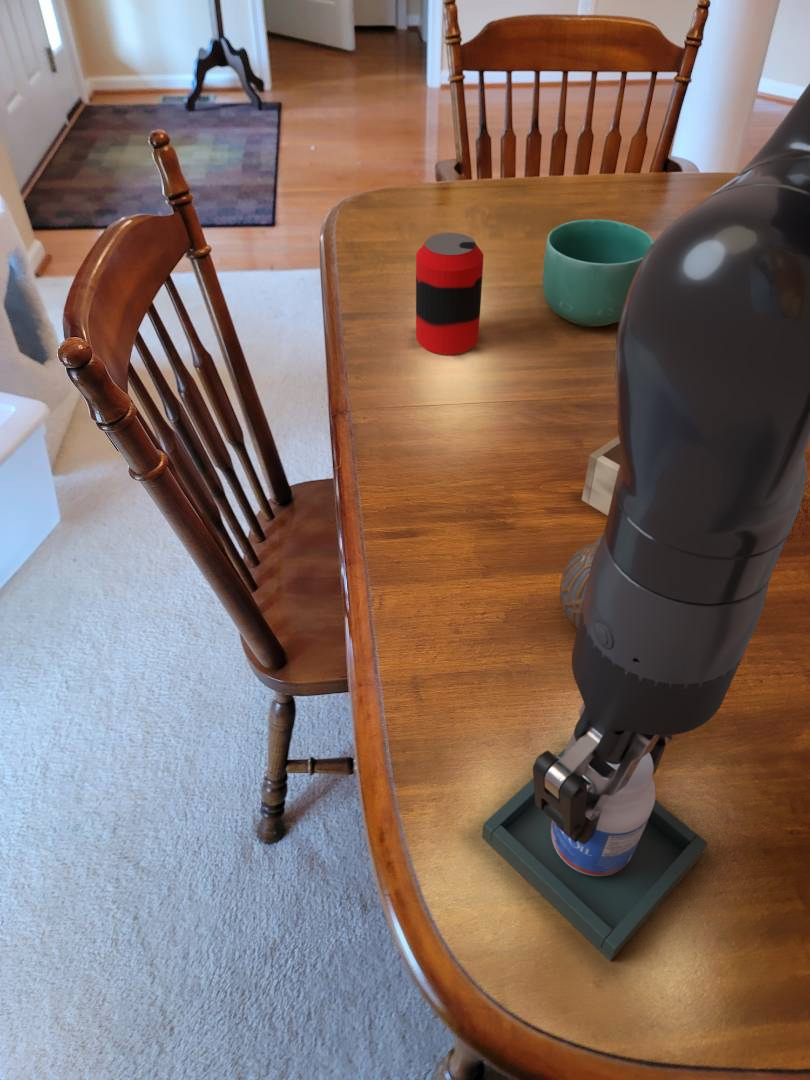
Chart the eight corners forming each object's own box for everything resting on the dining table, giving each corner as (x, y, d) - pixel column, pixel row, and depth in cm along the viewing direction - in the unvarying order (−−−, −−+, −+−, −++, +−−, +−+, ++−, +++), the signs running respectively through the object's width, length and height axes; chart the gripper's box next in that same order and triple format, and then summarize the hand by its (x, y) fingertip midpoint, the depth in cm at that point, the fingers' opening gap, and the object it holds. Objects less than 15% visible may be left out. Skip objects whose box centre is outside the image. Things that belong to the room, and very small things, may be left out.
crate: (740, 503, 79) (757, 458, 75) (675, 557, 74) (689, 511, 70) (647, 453, 85) (658, 408, 81) (581, 500, 80) (589, 454, 76)
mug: (544, 338, 101) (553, 264, 94) (533, 289, 110) (541, 218, 103) (681, 339, 101) (700, 264, 94) (660, 289, 110) (675, 218, 103)
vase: (620, 664, 65) (641, 588, 59) (540, 628, 68) (553, 552, 62) (652, 609, 70) (675, 532, 63) (576, 576, 72) (591, 500, 66)
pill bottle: (534, 818, 55) (551, 736, 48) (603, 788, 57) (629, 705, 50) (578, 894, 52) (603, 817, 45) (651, 860, 53) (686, 781, 46)
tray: (701, 856, 54) (708, 842, 53) (610, 962, 50) (615, 949, 48) (574, 751, 60) (577, 736, 59) (481, 837, 55) (483, 823, 54)
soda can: (473, 359, 98) (479, 261, 89) (410, 352, 99) (410, 255, 90) (482, 326, 103) (488, 232, 95) (422, 321, 104) (423, 226, 96)
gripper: (638, 760, 33) (579, 927, 45) (818, 581, 40) (726, 767, 52) (499, 650, 37) (478, 830, 49) (685, 504, 44) (627, 693, 56)
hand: (606, 797), depth 50 cm, fingers closed on pill bottle, 5 cm apart
